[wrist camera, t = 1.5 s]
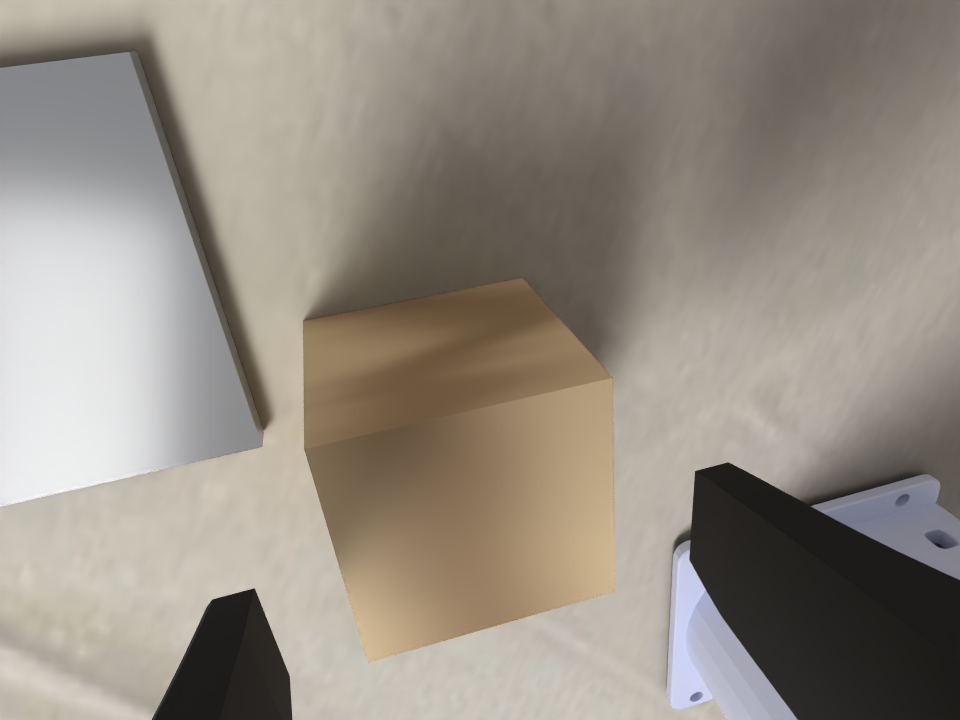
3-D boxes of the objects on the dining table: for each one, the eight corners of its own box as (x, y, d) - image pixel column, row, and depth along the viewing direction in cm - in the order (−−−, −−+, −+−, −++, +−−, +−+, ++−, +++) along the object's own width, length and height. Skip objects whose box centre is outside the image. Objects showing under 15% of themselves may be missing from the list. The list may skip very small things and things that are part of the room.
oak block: (521, 276, 15) (612, 377, 10) (536, 450, 17) (614, 590, 13) (303, 319, 14) (304, 448, 10) (350, 496, 16) (367, 663, 12)
